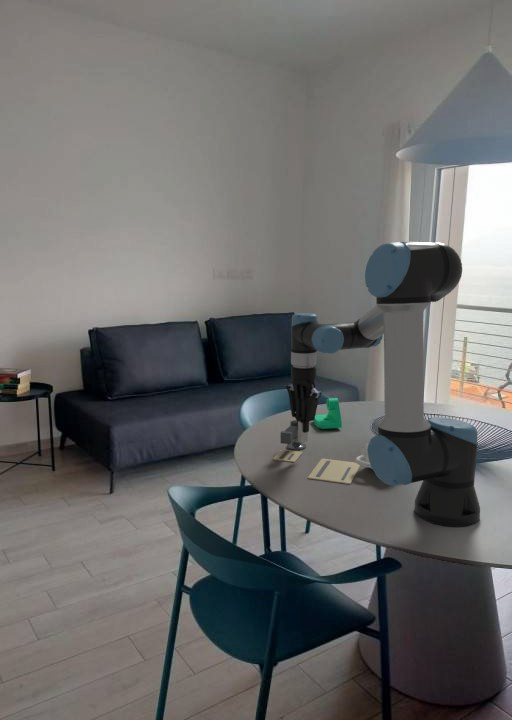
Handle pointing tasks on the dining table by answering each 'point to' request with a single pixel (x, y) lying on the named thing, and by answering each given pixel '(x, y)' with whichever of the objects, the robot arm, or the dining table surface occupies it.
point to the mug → (364, 458)
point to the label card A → (288, 455)
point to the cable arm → (289, 433)
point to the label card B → (334, 471)
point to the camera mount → (330, 416)
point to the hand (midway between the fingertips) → (302, 441)
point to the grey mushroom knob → (296, 445)
